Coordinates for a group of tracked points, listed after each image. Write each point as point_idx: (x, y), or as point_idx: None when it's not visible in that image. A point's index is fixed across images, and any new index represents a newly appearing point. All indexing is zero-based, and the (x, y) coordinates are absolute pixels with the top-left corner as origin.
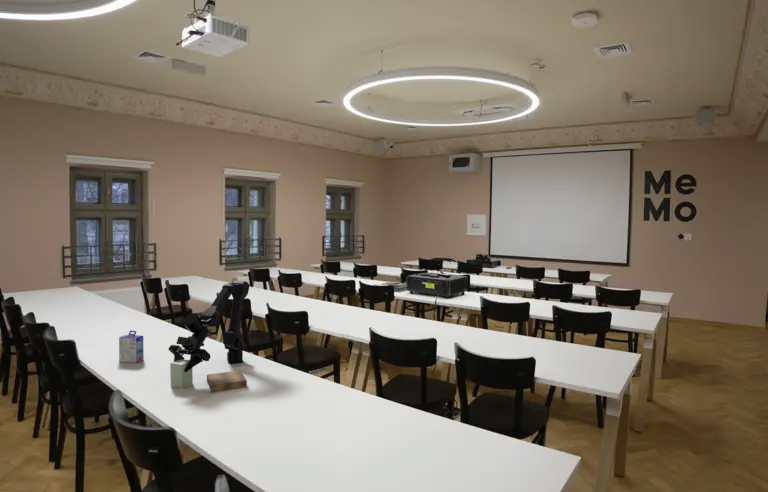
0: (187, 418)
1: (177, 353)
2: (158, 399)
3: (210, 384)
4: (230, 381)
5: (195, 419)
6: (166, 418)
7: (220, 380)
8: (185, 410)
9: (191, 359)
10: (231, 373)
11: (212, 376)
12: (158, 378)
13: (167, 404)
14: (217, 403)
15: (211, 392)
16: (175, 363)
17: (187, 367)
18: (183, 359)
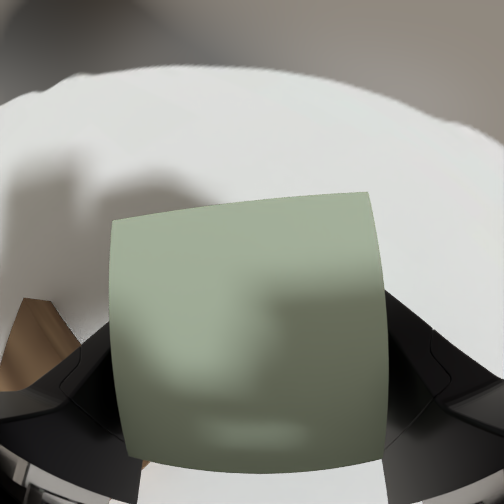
0: (42, 117)
1: (487, 444)
2: (209, 113)
3: (43, 324)
4: (7, 376)
5: (27, 129)
6: (85, 82)
7: (32, 379)
8: (59, 133)
9: (45, 393)
10: None
11: None
12: (487, 321)
13: (134, 113)
14: (7, 228)
15: (49, 301)
16: (260, 218)
17: None
18: (323, 464)
